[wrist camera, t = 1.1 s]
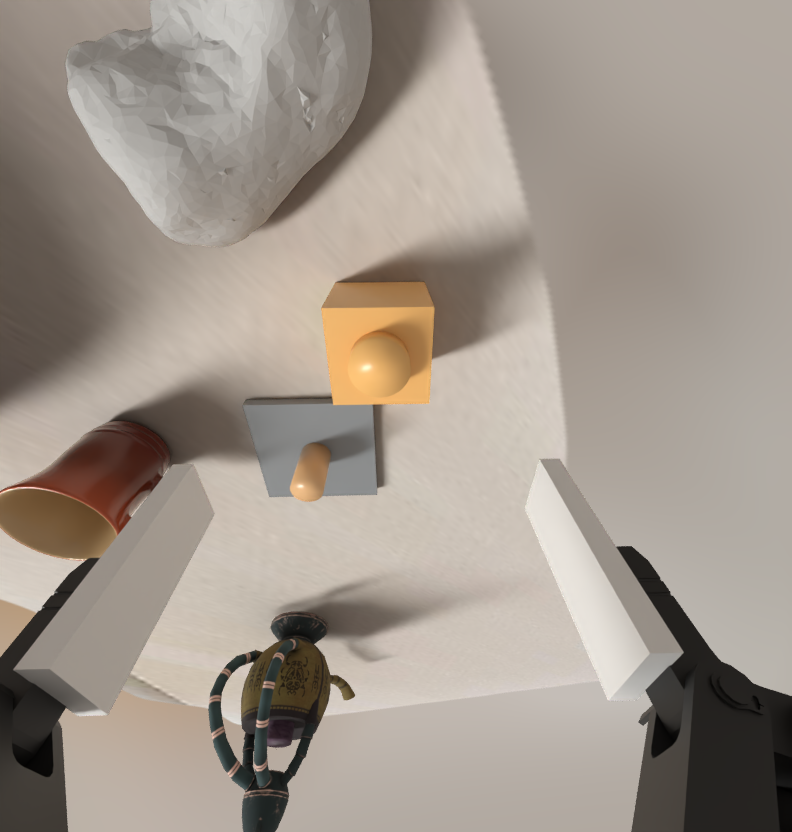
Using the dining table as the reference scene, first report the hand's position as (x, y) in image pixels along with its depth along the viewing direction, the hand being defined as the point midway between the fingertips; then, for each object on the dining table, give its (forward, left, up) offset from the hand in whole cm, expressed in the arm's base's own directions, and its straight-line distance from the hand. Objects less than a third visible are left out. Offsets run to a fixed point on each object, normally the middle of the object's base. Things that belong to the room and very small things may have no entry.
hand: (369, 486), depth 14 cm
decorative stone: (-14, -8, -19) cm, 25 cm away
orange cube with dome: (0, 0, -19) cm, 19 cm away
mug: (+13, -24, -19) cm, 33 cm away
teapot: (+53, -13, -19) cm, 57 cm away
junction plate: (+13, -7, -19) cm, 24 cm away
